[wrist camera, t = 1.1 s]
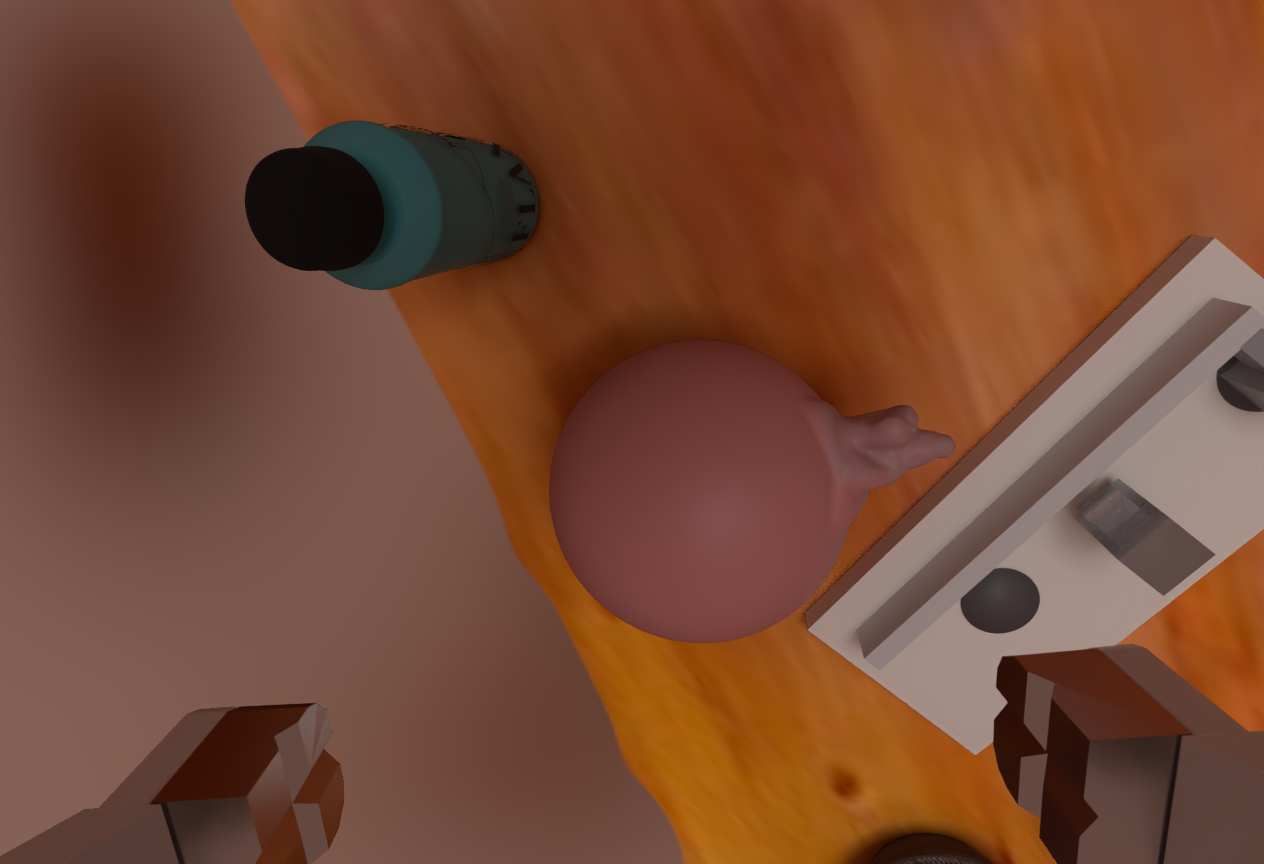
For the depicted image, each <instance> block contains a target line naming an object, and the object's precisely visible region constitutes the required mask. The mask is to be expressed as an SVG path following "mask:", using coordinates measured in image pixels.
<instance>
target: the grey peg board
mask: <svg viewBox="0 0 1264 864" xmlns="http://www.w3.org/2000/svg"><path fill="white" fill-rule="evenodd" d="M1117 479H1120V480H1121V481H1122V482H1124V483H1125V484H1126V485H1128V486H1129V487H1130V488H1132V489H1133V490H1134V491H1135V492H1137V493H1138V494H1139V495H1141V496H1142V497H1143V498H1145V499H1146V500H1147V501H1149V502H1150V503H1151V504H1152V505H1154V506H1155V507H1156V508H1158V509H1159V510H1160V511H1162V512H1163V513H1164V514H1166V515H1167V516H1168V517H1170V518H1171V519H1172V520H1173V521H1175V522H1176V523H1177V524H1178V525H1180V526H1181V527H1182V528H1183V529H1184V530H1186V531H1187V532H1188V533H1189V534H1191V535H1192V536H1193V537H1194V538H1196V539H1197V540H1198V541H1199V542H1201V543H1202V544H1203V545H1204V546H1206V547H1207V548H1208V549H1209V550H1211V551H1212V552H1213V553H1214V554H1216V555H1215V556H1214V557H1212V558H1211V559H1210V560H1209V561H1207V562H1206V563H1205V564H1204V565H1202V566H1201V567H1200V568H1198V569H1197V570H1196V571H1195V572H1193V573H1192V574H1191V575H1190V576H1188V577H1187V578H1186V579H1185V580H1183V581H1182V582H1181V583H1180V584H1178V585H1177V586H1176V587H1175V588H1173V589H1172V590H1171V591H1169V592H1168V593H1167V594H1166V595H1164V596H1163V595H1161V594H1160V593H1159V592H1158V591H1156V590H1155V589H1154V588H1153V587H1151V586H1150V585H1149V584H1148V583H1146V582H1145V581H1144V580H1142V579H1141V578H1140V577H1139V576H1137V575H1136V574H1135V573H1134V572H1132V571H1131V570H1130V569H1129V568H1127V567H1126V566H1125V565H1123V564H1122V563H1121V562H1120V561H1118V560H1117V559H1116V558H1115V557H1114V556H1113V555H1112V554H1111V553H1110V552H1109V551H1108V550H1107V549H1106V548H1105V547H1104V546H1103V545H1102V544H1101V543H1100V542H1099V541H1098V540H1097V539H1096V538H1095V537H1094V536H1093V535H1092V534H1091V533H1090V532H1089V531H1088V530H1087V529H1086V528H1085V527H1084V526H1083V525H1082V524H1081V523H1080V522H1079V521H1078V520H1077V519H1076V518H1075V516H1076V515H1077V514H1078V513H1079V511H1078V510H1077V509H1076V508H1078V507H1079V506H1080V505H1081V504H1082V503H1083V502H1084V501H1085V500H1087V499H1088V498H1089V497H1090V496H1091V495H1092V494H1093V493H1095V492H1096V491H1097V490H1098V489H1099V488H1100V487H1101V486H1102V485H1104V484H1105V483H1106V482H1108V483H1109V484H1110V485H1111V484H1112V483H1113V482H1115V481H1116V480H1117ZM1263 529H1264V279H1263V278H1262V277H1261V276H1259V275H1258V274H1257V273H1256V272H1255V271H1254V270H1252V269H1251V268H1250V267H1249V266H1248V265H1246V264H1245V263H1244V262H1243V261H1242V260H1241V259H1239V258H1238V257H1237V256H1236V255H1235V254H1234V253H1232V252H1231V251H1230V250H1229V249H1228V248H1227V247H1225V246H1224V245H1223V244H1222V243H1221V242H1219V241H1218V240H1217V239H1216V238H1212V237H1202V236H1192V235H1191V236H1190V237H1189V238H1188V239H1187V240H1186V241H1185V242H1184V243H1183V244H1182V245H1181V246H1180V247H1179V248H1178V249H1177V250H1176V251H1175V252H1174V253H1173V254H1172V255H1171V256H1170V257H1169V258H1168V259H1167V260H1166V261H1165V262H1164V263H1163V264H1162V265H1161V266H1160V267H1159V268H1158V269H1156V270H1155V271H1154V272H1153V273H1152V274H1151V275H1150V276H1149V277H1148V278H1147V279H1146V280H1145V281H1144V282H1143V283H1142V284H1141V285H1140V286H1139V287H1138V288H1137V289H1136V290H1135V291H1134V292H1133V293H1132V294H1131V295H1130V296H1129V297H1128V298H1127V299H1126V300H1125V301H1124V302H1123V303H1122V304H1121V305H1120V306H1119V307H1118V308H1117V309H1116V310H1114V311H1113V312H1112V313H1111V314H1110V315H1109V316H1108V317H1107V318H1106V319H1105V320H1104V321H1103V322H1102V323H1101V324H1100V325H1099V326H1098V327H1097V328H1096V329H1095V330H1094V331H1093V332H1092V333H1091V334H1090V335H1089V336H1088V337H1087V338H1086V339H1085V340H1084V341H1083V342H1082V343H1081V344H1080V345H1079V346H1078V347H1077V348H1076V349H1075V350H1074V351H1073V352H1071V353H1070V354H1069V355H1068V356H1067V357H1066V358H1065V359H1064V360H1063V361H1062V362H1061V363H1060V364H1059V365H1058V366H1057V367H1056V368H1055V369H1054V370H1053V371H1052V372H1051V373H1050V374H1049V375H1048V376H1047V377H1046V378H1045V379H1044V380H1043V381H1042V382H1041V383H1040V384H1039V385H1038V386H1037V387H1036V388H1035V389H1034V390H1033V391H1032V392H1031V393H1029V394H1028V395H1027V396H1026V397H1025V398H1024V399H1023V400H1022V401H1021V402H1020V403H1019V404H1018V405H1017V406H1016V407H1015V408H1014V409H1013V410H1012V411H1011V412H1010V413H1009V414H1008V415H1007V416H1006V417H1005V418H1004V419H1003V420H1002V421H1001V422H1000V423H999V424H998V425H997V426H996V427H995V428H994V429H993V430H992V431H991V432H990V433H989V434H988V435H986V436H985V437H984V438H983V439H982V440H981V441H980V442H979V443H978V444H977V445H976V446H975V447H974V448H973V449H972V450H971V451H970V452H969V453H968V454H967V455H966V456H965V457H964V458H963V459H962V460H961V461H960V462H959V463H958V464H957V465H956V466H955V467H954V468H953V469H952V470H951V471H950V472H949V473H948V474H947V475H946V476H944V477H943V478H942V479H941V480H940V481H939V482H938V483H937V484H936V485H935V486H934V487H933V488H932V489H931V490H930V491H929V492H928V493H927V494H926V495H925V496H924V497H923V498H922V499H921V500H920V501H919V502H918V503H917V504H916V505H915V506H914V507H913V508H912V509H911V510H910V511H909V512H908V513H907V514H906V515H905V516H904V517H902V518H901V519H900V520H899V521H898V522H897V523H896V524H895V525H894V526H893V527H892V528H891V529H890V530H889V531H888V532H887V533H886V534H885V535H884V536H883V537H882V538H881V539H880V540H879V541H878V542H877V543H876V544H875V545H874V546H873V547H872V548H871V549H870V550H869V551H868V552H867V553H866V554H865V555H864V556H863V557H862V558H861V559H859V560H858V561H857V562H856V563H855V564H854V565H853V566H852V567H851V568H850V569H849V570H848V571H847V572H846V573H845V574H844V575H843V576H842V577H841V578H840V579H839V580H838V581H837V582H836V583H835V584H834V585H833V586H832V587H831V588H830V589H829V590H828V591H827V592H826V593H825V594H824V595H823V596H822V597H821V598H820V599H819V600H817V601H816V602H815V603H814V604H813V605H812V606H811V607H810V608H809V609H808V610H807V611H806V612H805V616H806V623H807V629H808V631H810V632H811V633H812V634H814V635H815V636H816V637H818V638H819V639H820V640H822V641H823V642H824V643H826V644H827V645H828V646H830V647H831V648H832V649H834V650H835V651H836V652H838V653H839V654H840V655H842V656H843V657H844V658H846V659H847V660H849V661H850V662H851V663H853V664H854V665H855V666H857V667H858V668H859V669H861V670H862V671H863V672H865V673H866V674H867V675H869V676H870V677H871V678H873V679H874V680H875V681H877V682H878V683H879V684H881V685H882V686H883V687H885V688H886V689H887V690H889V691H890V692H891V693H893V694H894V695H895V696H897V697H898V698H900V699H901V700H902V701H904V702H905V703H906V704H908V705H909V706H910V707H912V708H913V709H914V710H916V711H917V712H918V713H920V714H921V715H922V716H924V717H925V718H926V719H928V720H929V721H930V722H932V723H933V724H934V725H936V726H937V727H938V728H940V729H941V730H942V731H944V732H945V733H946V734H948V735H949V736H951V737H952V738H953V739H955V740H956V741H957V742H959V743H960V744H961V745H963V746H964V747H965V748H967V749H968V750H969V751H971V752H972V753H973V754H975V755H977V754H978V753H979V752H980V751H982V750H983V749H984V748H985V747H987V746H988V745H989V744H991V743H992V742H993V734H994V719H995V718H996V716H997V715H998V714H999V713H1000V712H1001V710H1002V709H1003V708H1004V707H1005V705H1006V704H1007V703H1008V702H1007V701H1006V700H1005V698H1004V697H1003V696H1002V694H1001V693H1000V692H999V691H998V689H997V688H996V678H997V668H998V665H999V663H1000V661H1001V658H1002V656H1012V655H1024V654H1036V653H1047V652H1059V651H1071V650H1082V649H1088V648H1094V647H1104V646H1114V645H1116V644H1118V643H1119V642H1120V641H1122V640H1123V639H1124V638H1125V637H1127V636H1128V635H1129V634H1130V633H1132V632H1133V631H1134V630H1135V629H1137V628H1138V627H1139V626H1141V625H1142V624H1143V623H1144V622H1146V621H1147V620H1148V619H1149V618H1151V617H1152V616H1153V615H1155V614H1156V613H1157V612H1158V611H1160V610H1161V609H1162V608H1163V607H1165V606H1166V605H1167V604H1169V603H1170V602H1171V601H1172V600H1174V599H1175V598H1176V597H1177V596H1179V595H1180V594H1181V593H1183V592H1184V591H1185V590H1186V589H1188V588H1189V587H1190V586H1191V585H1193V584H1194V583H1195V582H1197V581H1198V580H1199V579H1200V578H1202V577H1203V576H1204V575H1205V574H1207V573H1208V572H1209V571H1211V570H1212V569H1213V568H1214V567H1216V566H1217V565H1218V564H1219V563H1221V562H1222V561H1223V560H1225V559H1226V558H1227V557H1228V556H1230V555H1231V554H1232V553H1233V552H1235V551H1236V550H1237V549H1239V548H1240V547H1241V546H1242V545H1244V544H1245V543H1246V542H1247V541H1249V540H1250V539H1251V538H1253V537H1254V536H1255V535H1256V534H1258V533H1259V532H1260V531H1261V530H1263Z"/></svg>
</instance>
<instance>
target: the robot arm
mask: <svg viewBox="0 0 1264 864" xmlns="http://www.w3.org/2000/svg"><path fill="white" fill-rule="evenodd" d="M996 688H997V689H998V691H999V692H1000V693H1001V694H1002V696H1003V697H1004V698H1005V700H1006V701H1007V702H1008V703H1007V704H1006V705H1005V707H1004V708H1003V709H1002V710H1001V712H1000V713H999V714H998V715H997V716H996V718H995V719H994V734H993V745H994V750H995V755H996V759H997V764H998V768H999V771H1000V773H1001V776H1002V778H1003V780H1004V782H1005V785H1006V787H1007V789H1008V790H1009V792H1010V793H1011V795H1012V796H1013V798H1014V800H1015V801H1016V803H1017V804H1018V805H1019V806H1021V807H1022V808H1024V809H1025V810H1027V811H1029V812H1030V813H1032V814H1034V815H1035V816H1037V817H1039V818H1040V819H1041V820H1040V834H1039V837H1040V839H1041V840H1042V842H1043V843H1044V845H1045V846H1046V848H1047V849H1048V851H1049V852H1050V854H1051V855H1052V857H1053V858H1054V859H1055V861H1056V862H1057V864H1264V731H1254V732H1248V731H1247V730H1246V729H1245V728H1243V727H1242V726H1241V725H1240V724H1239V723H1237V722H1236V721H1235V720H1234V719H1232V718H1231V717H1230V716H1229V715H1227V714H1226V713H1225V712H1224V711H1223V710H1221V709H1220V708H1219V707H1218V706H1216V705H1215V704H1214V703H1213V702H1211V701H1210V700H1209V699H1208V698H1207V697H1205V696H1204V695H1203V694H1202V693H1200V692H1199V691H1198V690H1197V689H1195V688H1194V687H1193V686H1192V685H1190V684H1189V683H1188V682H1187V681H1186V680H1184V679H1183V678H1182V677H1181V676H1179V675H1178V674H1177V673H1176V672H1174V671H1173V670H1172V669H1171V668H1170V667H1168V666H1167V665H1166V664H1165V663H1163V662H1162V661H1161V660H1160V659H1158V658H1157V657H1156V656H1155V655H1154V654H1152V653H1151V652H1150V651H1149V650H1147V649H1146V648H1144V647H1141V646H1138V645H1135V644H1123V645H1114V646H1104V647H1094V648H1088V649H1082V650H1071V651H1059V652H1047V653H1036V654H1024V655H1012V656H1002V658H1001V661H1000V663H999V665H998V668H997V678H996ZM332 733H333V731H332V727H331V723H330V720H329V716H328V712H327V709H326V708H324V707H323V706H321V705H320V704H319V703H304V704H283V705H262V706H241V707H237V708H236V707H222V708H210V709H199V710H196V711H193V712H190V713H187V714H186V715H185V716H184V717H183V718H182V719H181V721H179V722H178V724H177V725H176V726H175V727H174V728H173V729H172V730H171V731H170V732H169V733H168V734H167V735H166V736H165V738H164V739H163V740H162V741H161V742H160V743H159V744H158V745H157V746H156V747H155V748H154V749H153V750H152V751H151V752H150V754H149V755H148V756H147V757H146V758H145V759H144V760H143V761H142V762H141V763H140V764H139V765H138V766H137V767H136V768H135V770H134V771H133V772H132V773H131V774H130V775H129V776H128V777H127V778H126V779H125V780H124V781H123V782H122V783H121V785H120V786H119V787H118V788H117V789H116V790H115V791H114V792H113V793H112V794H111V795H110V796H109V797H108V799H107V800H106V801H105V802H104V803H103V804H102V805H101V806H100V807H99V808H94V809H84V810H82V811H80V812H79V813H77V814H75V815H73V816H71V817H70V818H68V819H66V820H64V821H62V822H61V823H59V824H57V825H55V826H53V827H52V828H50V829H48V830H46V831H45V832H43V833H41V834H39V835H37V836H36V837H34V838H32V839H30V840H29V841H27V842H25V843H23V844H21V845H19V846H18V847H16V848H14V849H12V850H11V851H9V852H7V853H5V854H3V855H2V856H0V864H311V863H313V862H314V861H315V860H316V859H318V858H319V857H320V856H321V855H322V854H324V853H325V852H326V851H327V850H329V848H330V846H331V844H332V841H333V839H334V837H335V835H336V833H337V831H338V829H339V824H340V820H341V815H342V810H343V805H344V781H343V776H342V771H341V766H340V763H339V762H338V761H336V760H335V759H334V758H333V757H332V756H331V755H330V754H329V753H328V752H327V751H326V750H325V749H324V748H325V746H326V744H327V742H328V740H329V739H330V737H331V735H332Z"/></svg>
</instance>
